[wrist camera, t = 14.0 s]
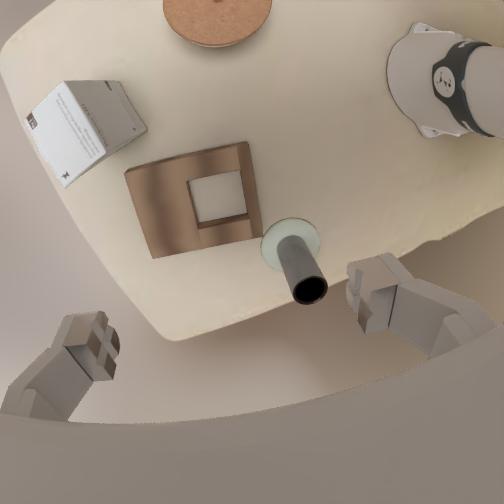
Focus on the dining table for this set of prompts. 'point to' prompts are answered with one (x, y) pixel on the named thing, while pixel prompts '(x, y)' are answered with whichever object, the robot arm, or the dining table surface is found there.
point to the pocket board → (191, 201)
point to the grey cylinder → (301, 270)
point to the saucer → (283, 230)
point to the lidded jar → (216, 19)
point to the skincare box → (82, 126)
